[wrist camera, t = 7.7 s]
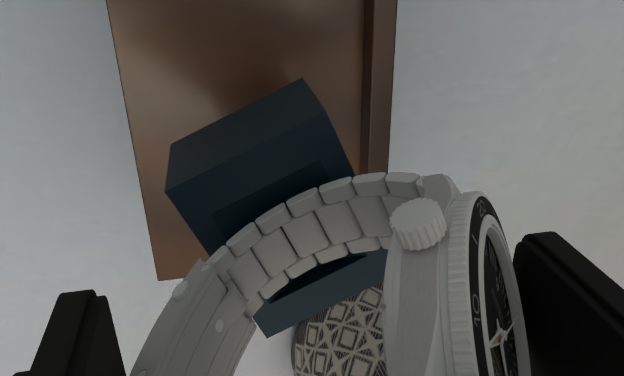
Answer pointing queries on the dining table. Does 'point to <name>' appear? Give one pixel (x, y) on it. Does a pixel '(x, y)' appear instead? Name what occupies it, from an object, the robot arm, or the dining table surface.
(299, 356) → the planter
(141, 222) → the dining table surface
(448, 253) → the watch
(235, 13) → the shelf
